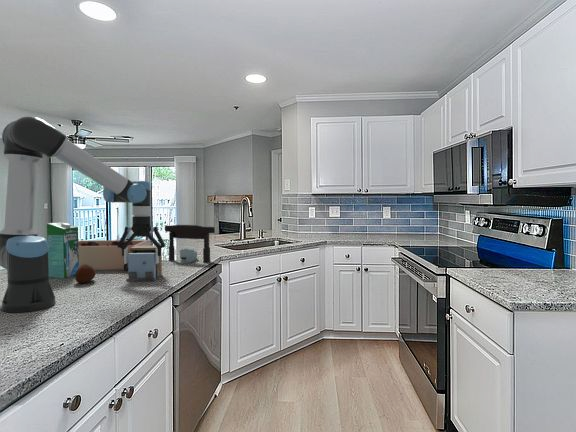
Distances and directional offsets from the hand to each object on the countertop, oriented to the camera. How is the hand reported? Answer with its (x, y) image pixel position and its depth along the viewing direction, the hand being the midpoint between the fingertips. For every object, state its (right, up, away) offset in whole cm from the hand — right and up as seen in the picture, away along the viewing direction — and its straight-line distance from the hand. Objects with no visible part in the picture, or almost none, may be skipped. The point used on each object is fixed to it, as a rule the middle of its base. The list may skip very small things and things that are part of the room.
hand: (141, 263), depth 176 cm
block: (0, -8, 0) cm, 8 cm away
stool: (+8, -5, +53) cm, 53 cm away
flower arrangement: (-33, -6, +38) cm, 50 cm away
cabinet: (0, -7, +4) cm, 8 cm away
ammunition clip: (-12, -7, +23) cm, 27 cm away
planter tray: (-33, -6, +38) cm, 51 cm away
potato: (-22, -8, -5) cm, 24 cm away
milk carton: (-40, -7, +9) cm, 41 cm away
